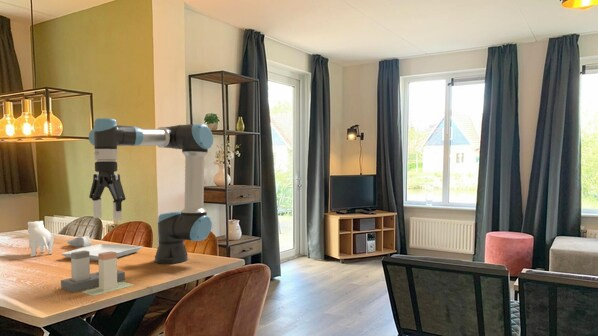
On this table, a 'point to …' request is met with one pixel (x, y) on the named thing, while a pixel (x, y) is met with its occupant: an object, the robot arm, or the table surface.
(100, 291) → the green mat
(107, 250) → the square plate
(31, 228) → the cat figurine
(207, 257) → the table surface
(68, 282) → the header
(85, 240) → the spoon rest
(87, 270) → the grey plug
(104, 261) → the cream plug
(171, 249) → the robot arm
